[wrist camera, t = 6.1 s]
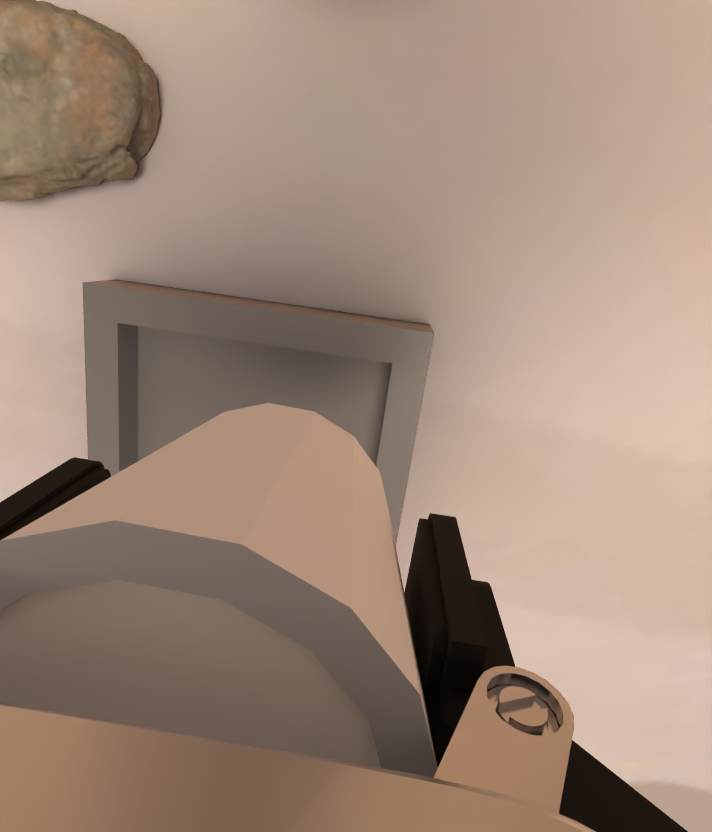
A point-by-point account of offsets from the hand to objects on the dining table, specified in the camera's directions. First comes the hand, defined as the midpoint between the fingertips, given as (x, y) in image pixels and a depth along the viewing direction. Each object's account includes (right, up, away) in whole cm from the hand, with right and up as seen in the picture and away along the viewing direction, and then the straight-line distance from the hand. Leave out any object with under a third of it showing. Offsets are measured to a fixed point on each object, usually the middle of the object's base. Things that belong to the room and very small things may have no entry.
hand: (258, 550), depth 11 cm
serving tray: (-3, -1, +18) cm, 18 cm away
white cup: (0, +1, +2) cm, 2 cm away
